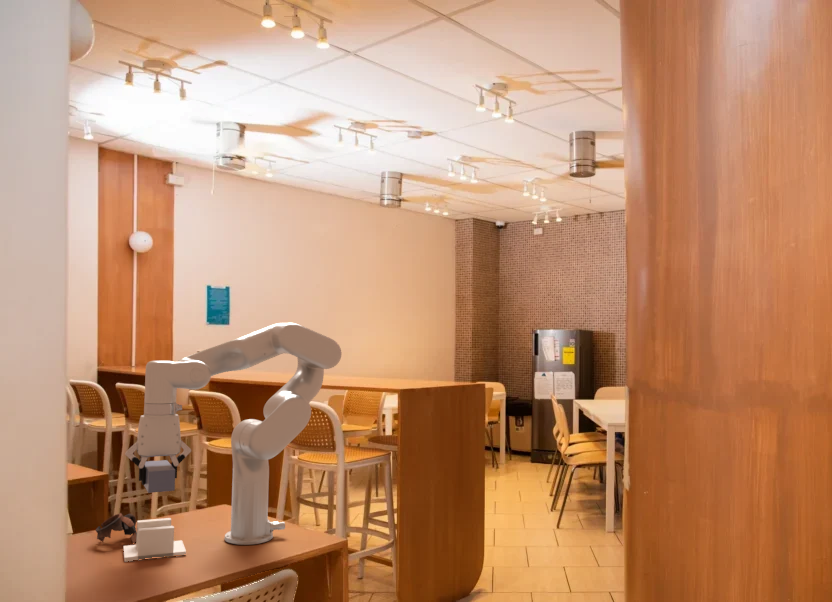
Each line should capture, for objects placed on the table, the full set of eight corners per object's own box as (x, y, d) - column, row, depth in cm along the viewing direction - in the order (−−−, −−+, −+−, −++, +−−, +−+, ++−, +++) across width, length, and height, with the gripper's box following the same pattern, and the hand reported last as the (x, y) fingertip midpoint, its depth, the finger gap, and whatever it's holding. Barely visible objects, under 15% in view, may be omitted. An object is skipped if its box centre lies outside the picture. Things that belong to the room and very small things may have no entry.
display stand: (181, 544, 181) (182, 516, 181) (186, 555, 171) (187, 526, 172) (123, 549, 175) (124, 521, 175) (124, 561, 166) (125, 532, 166)
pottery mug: (132, 550, 177) (115, 523, 175) (101, 564, 178) (84, 537, 177) (152, 525, 189) (136, 500, 187) (123, 538, 190) (107, 513, 188)
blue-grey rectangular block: (166, 479, 181) (166, 460, 182) (174, 490, 169) (175, 469, 169) (141, 481, 179) (142, 461, 179) (148, 492, 166) (149, 471, 166)
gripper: (193, 407, 182) (191, 477, 181) (122, 409, 174) (119, 482, 173) (198, 410, 175) (195, 483, 174) (123, 412, 168) (120, 488, 167)
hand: (157, 481), depth 174 cm, fingers closed on blue-grey rectangular block, 6 cm apart
